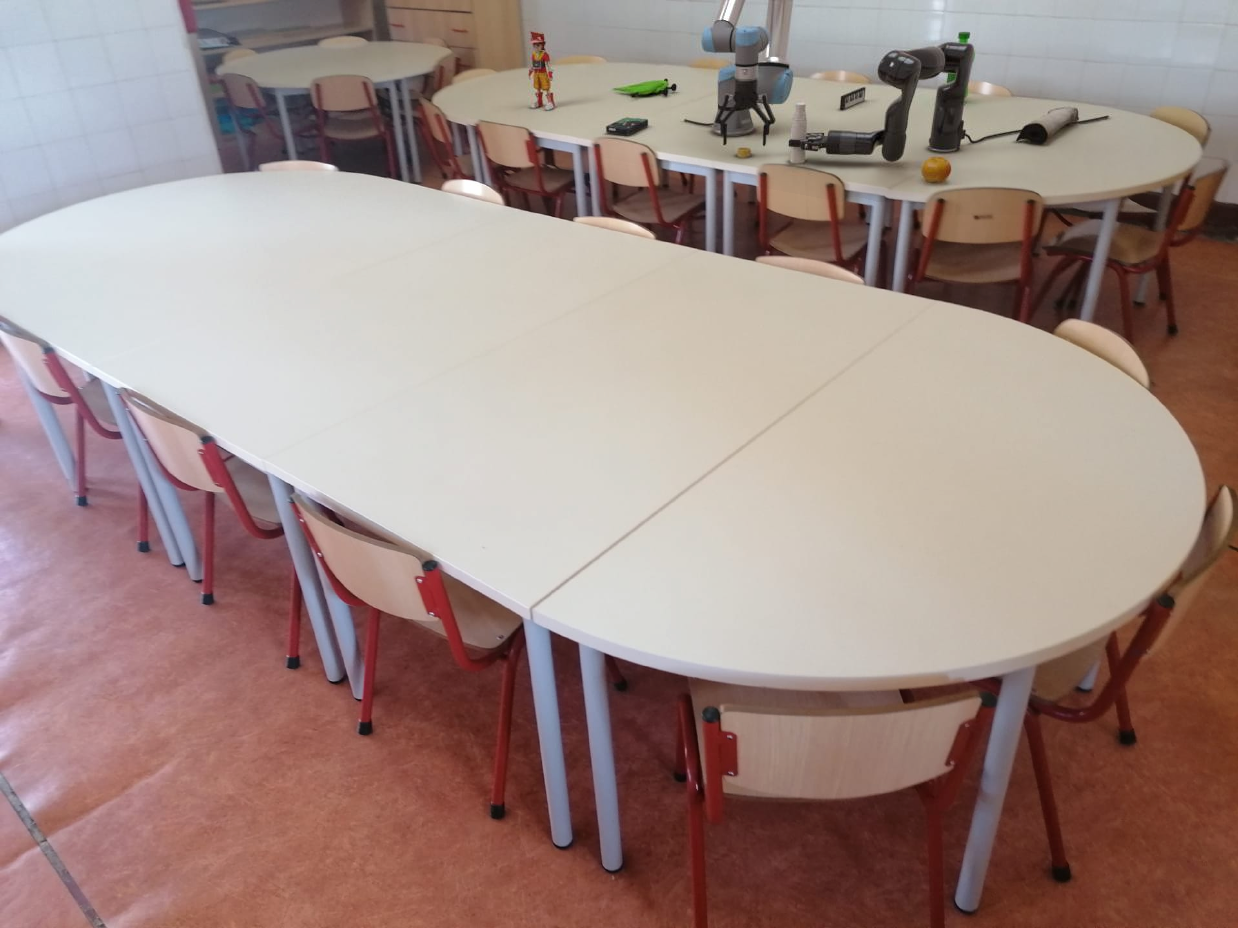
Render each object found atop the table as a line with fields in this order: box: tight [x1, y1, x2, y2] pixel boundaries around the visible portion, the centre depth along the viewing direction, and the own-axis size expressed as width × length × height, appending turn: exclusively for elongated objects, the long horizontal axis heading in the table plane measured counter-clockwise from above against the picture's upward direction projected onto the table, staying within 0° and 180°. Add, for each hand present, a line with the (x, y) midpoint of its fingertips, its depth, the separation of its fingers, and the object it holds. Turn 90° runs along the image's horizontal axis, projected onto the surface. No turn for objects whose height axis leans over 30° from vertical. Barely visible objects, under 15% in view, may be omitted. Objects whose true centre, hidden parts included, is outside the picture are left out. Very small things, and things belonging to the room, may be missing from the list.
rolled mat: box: [1015, 106, 1080, 145], centre depth 311 cm, size 30×9×10 cm
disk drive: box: [605, 116, 649, 136], centre depth 345 cm, size 10×3×15 cm
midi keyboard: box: [839, 86, 867, 111], centre depth 358 cm, size 18×1×5 cm, turn 138°
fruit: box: [921, 156, 952, 183], centre depth 276 cm, size 8×8×8 cm
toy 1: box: [527, 31, 556, 111], centre depth 374 cm, size 12×9×30 cm
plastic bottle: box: [946, 31, 976, 99], centre depth 348 cm, size 10×10×25 cm
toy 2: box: [612, 78, 677, 99], centre depth 396 cm, size 28×5×30 cm
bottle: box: [789, 102, 808, 164], centre depth 297 cm, size 5×5×19 cm
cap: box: [736, 147, 752, 159], centre depth 310 cm, size 4×4×2 cm
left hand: (744, 144), depth 308 cm, fingers open, 13 cm apart
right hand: (790, 141), depth 299 cm, fingers closed on bottle, 5 cm apart
